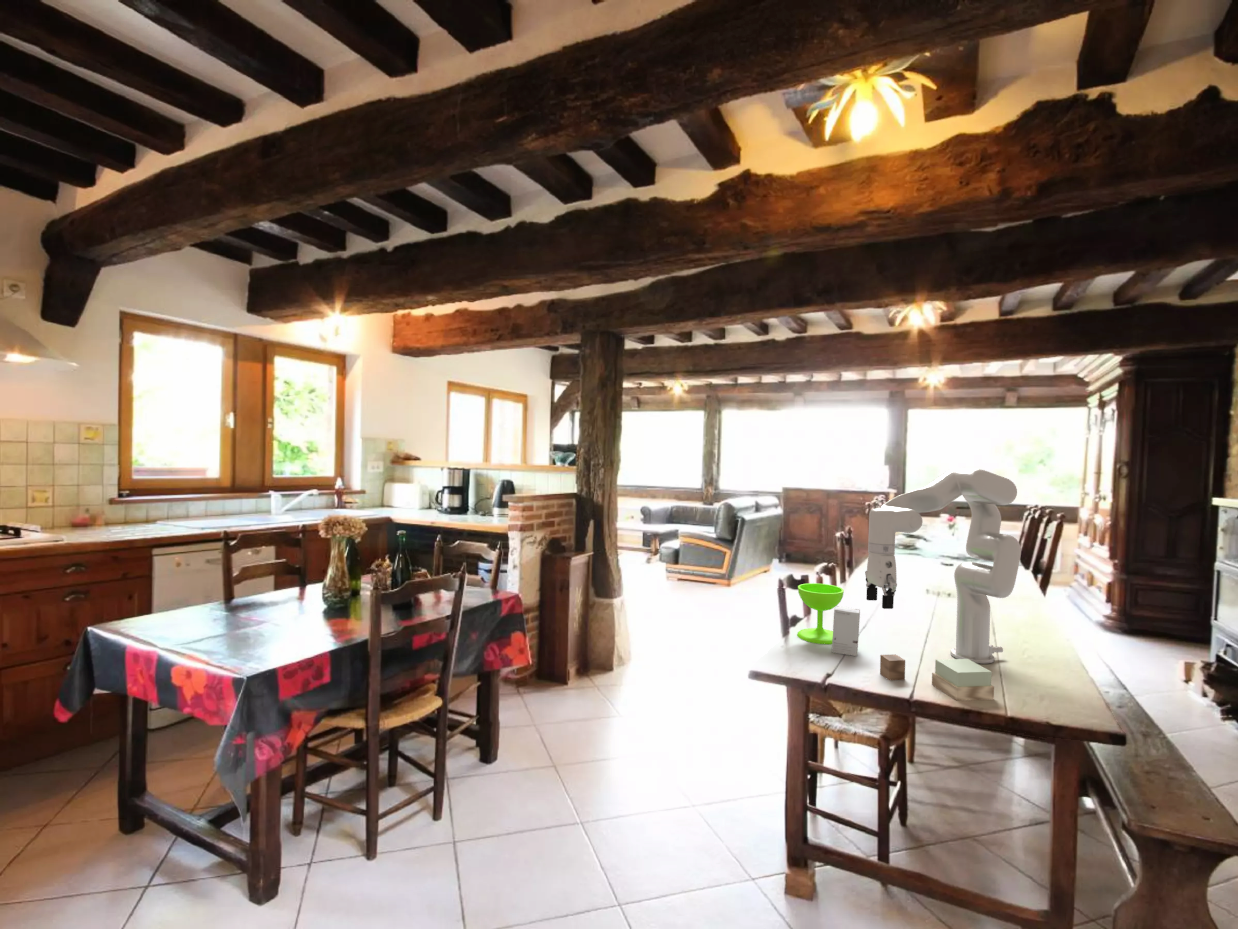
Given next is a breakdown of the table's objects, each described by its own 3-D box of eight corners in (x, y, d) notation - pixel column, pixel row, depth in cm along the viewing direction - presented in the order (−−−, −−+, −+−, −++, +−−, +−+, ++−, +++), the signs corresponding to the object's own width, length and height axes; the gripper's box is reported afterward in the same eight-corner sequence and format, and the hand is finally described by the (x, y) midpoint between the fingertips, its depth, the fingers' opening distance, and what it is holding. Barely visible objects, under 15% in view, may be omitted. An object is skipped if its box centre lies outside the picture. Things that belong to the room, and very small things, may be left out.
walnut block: (895, 673, 184) (895, 654, 184) (904, 680, 179) (905, 660, 179) (880, 674, 184) (880, 654, 183) (888, 680, 179) (889, 660, 178)
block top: (967, 672, 176) (967, 658, 176) (991, 685, 166) (991, 671, 166) (935, 673, 175) (935, 659, 175) (957, 686, 165) (957, 672, 165)
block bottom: (966, 685, 177) (967, 671, 177) (993, 701, 166) (994, 686, 166) (931, 686, 176) (932, 672, 175) (956, 702, 165) (956, 688, 165)
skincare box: (831, 653, 202) (832, 609, 201) (833, 647, 207) (834, 605, 207) (858, 656, 198) (859, 612, 198) (859, 651, 204) (860, 608, 203)
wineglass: (832, 630, 227) (833, 583, 226) (850, 644, 211) (851, 593, 210) (791, 630, 226) (791, 583, 226) (805, 644, 210) (806, 593, 210)
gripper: (908, 554, 175) (906, 612, 175) (879, 544, 192) (877, 597, 193) (883, 553, 174) (881, 612, 175) (856, 544, 192) (854, 597, 192)
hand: (879, 604), depth 184 cm, fingers open, 9 cm apart
